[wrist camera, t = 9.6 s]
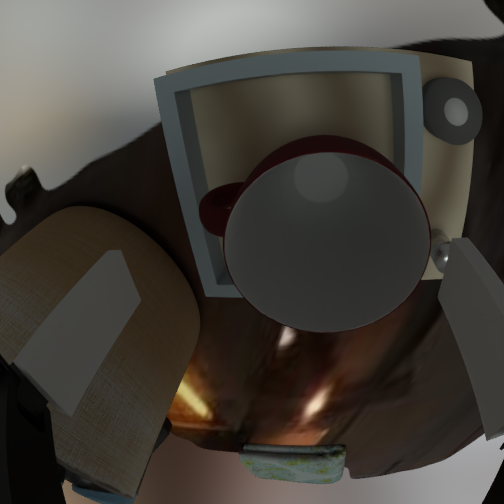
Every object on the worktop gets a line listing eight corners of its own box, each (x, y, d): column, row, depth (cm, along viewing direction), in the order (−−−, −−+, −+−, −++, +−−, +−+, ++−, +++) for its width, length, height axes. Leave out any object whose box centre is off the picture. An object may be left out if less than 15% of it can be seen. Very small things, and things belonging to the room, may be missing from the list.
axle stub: (422, 251, 20) (433, 273, 18) (425, 228, 19) (439, 249, 17) (443, 250, 20) (456, 272, 17) (447, 228, 19) (462, 249, 16)
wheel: (417, 137, 16) (427, 143, 14) (415, 73, 14) (424, 73, 12) (470, 142, 15) (482, 148, 13) (470, 82, 13) (482, 83, 11)
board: (216, 275, 26) (212, 283, 25) (173, 71, 17) (165, 71, 16) (446, 270, 22) (450, 278, 21) (463, 62, 13) (471, 61, 12)
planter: (190, 373, 37) (140, 505, 20) (59, 311, 36) (-11, 410, 20) (228, 244, 24) (119, 493, 8) (38, 175, 24) (-103, 286, 7)
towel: (238, 439, 49) (233, 461, 45) (346, 441, 44) (345, 465, 40) (256, 464, 58) (253, 481, 54) (343, 465, 53) (341, 483, 49)
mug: (242, 238, 22) (201, 337, 14) (213, 135, 18) (136, 185, 10) (382, 223, 20) (420, 324, 11) (372, 110, 16) (434, 139, 7)
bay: (214, 277, 25) (205, 296, 23) (171, 78, 17) (153, 78, 15) (397, 274, 22) (404, 294, 20) (405, 58, 13) (418, 55, 11)
